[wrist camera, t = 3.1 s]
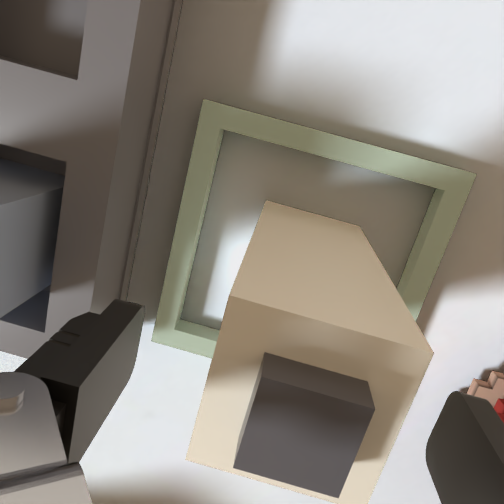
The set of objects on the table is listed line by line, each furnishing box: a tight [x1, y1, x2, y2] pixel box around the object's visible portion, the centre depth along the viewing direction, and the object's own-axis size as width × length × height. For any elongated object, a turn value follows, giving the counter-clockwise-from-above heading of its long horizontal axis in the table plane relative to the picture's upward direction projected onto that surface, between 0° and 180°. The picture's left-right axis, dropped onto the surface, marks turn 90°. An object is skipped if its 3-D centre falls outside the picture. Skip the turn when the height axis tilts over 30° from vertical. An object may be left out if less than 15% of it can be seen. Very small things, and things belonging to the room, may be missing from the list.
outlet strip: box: [0, 0, 183, 359], centre depth 19 cm, size 10×21×4 cm, turn 165°
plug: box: [185, 200, 434, 504], centre depth 16 cm, size 5×5×13 cm
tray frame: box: [151, 99, 477, 358], centre depth 21 cm, size 12×12×1 cm
